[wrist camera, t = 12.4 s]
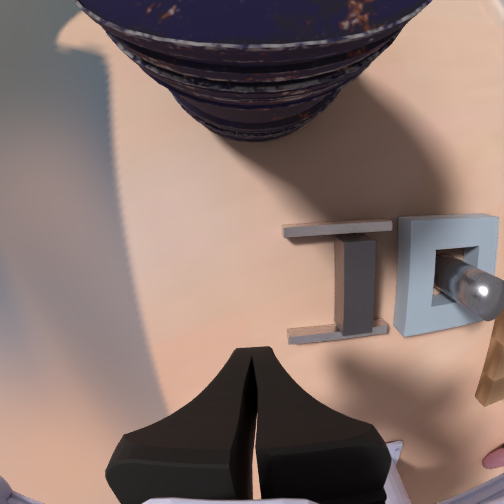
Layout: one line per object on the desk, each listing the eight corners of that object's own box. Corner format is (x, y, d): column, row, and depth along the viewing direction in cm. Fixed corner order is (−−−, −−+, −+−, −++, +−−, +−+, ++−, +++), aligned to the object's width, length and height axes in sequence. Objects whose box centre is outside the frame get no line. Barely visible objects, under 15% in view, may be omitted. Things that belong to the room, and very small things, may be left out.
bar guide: (381, 325, 22) (387, 332, 21) (287, 336, 22) (288, 344, 21) (385, 218, 20) (392, 221, 19) (281, 224, 20) (283, 227, 19)
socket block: (474, 310, 22) (487, 319, 20) (393, 325, 22) (403, 337, 20) (483, 213, 20) (499, 216, 18) (398, 216, 20) (411, 220, 18)
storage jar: (147, 88, 18) (-1, -20, 4) (241, -12, 17) (227, -176, 2) (267, 176, 20) (302, 167, 5) (358, 68, 18) (491, -54, 4)
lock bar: (361, 317, 22) (372, 332, 19) (334, 320, 22) (342, 336, 19) (363, 233, 20) (375, 240, 18) (334, 235, 21) (343, 242, 18)
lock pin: (456, 280, 21) (507, 310, 15) (430, 292, 21) (479, 327, 15) (452, 249, 21) (507, 272, 14) (425, 260, 21) (478, 288, 15)
